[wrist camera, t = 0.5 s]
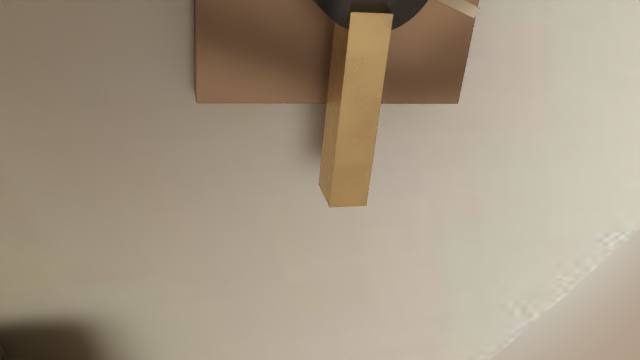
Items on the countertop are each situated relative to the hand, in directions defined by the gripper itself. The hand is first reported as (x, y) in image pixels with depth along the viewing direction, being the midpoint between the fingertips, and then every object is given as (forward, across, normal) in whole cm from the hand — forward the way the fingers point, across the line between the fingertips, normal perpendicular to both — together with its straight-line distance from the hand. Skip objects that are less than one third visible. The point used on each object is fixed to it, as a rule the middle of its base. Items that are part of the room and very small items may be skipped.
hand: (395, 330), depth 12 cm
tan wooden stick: (+22, +3, +1) cm, 23 cm away
